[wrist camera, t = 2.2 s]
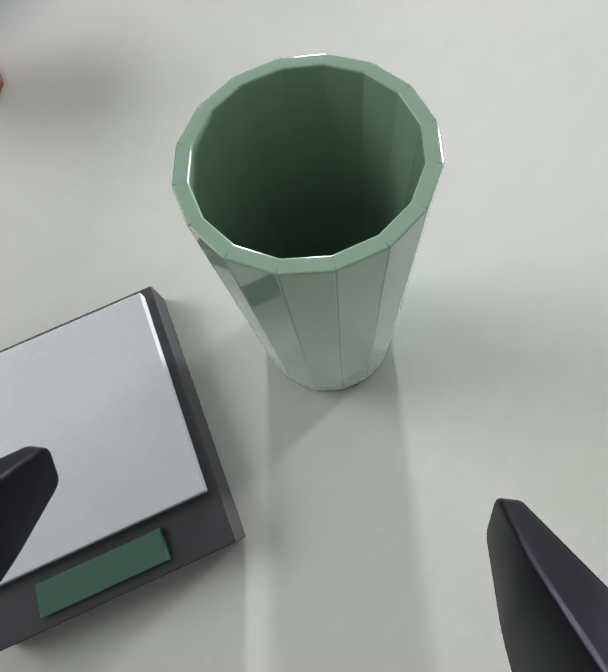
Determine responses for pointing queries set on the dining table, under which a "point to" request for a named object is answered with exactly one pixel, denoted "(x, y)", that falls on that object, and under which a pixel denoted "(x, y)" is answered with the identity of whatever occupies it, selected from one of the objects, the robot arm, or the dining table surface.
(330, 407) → the dining table surface
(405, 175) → the tumbler
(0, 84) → the ice cream bowl
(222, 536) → the scale
